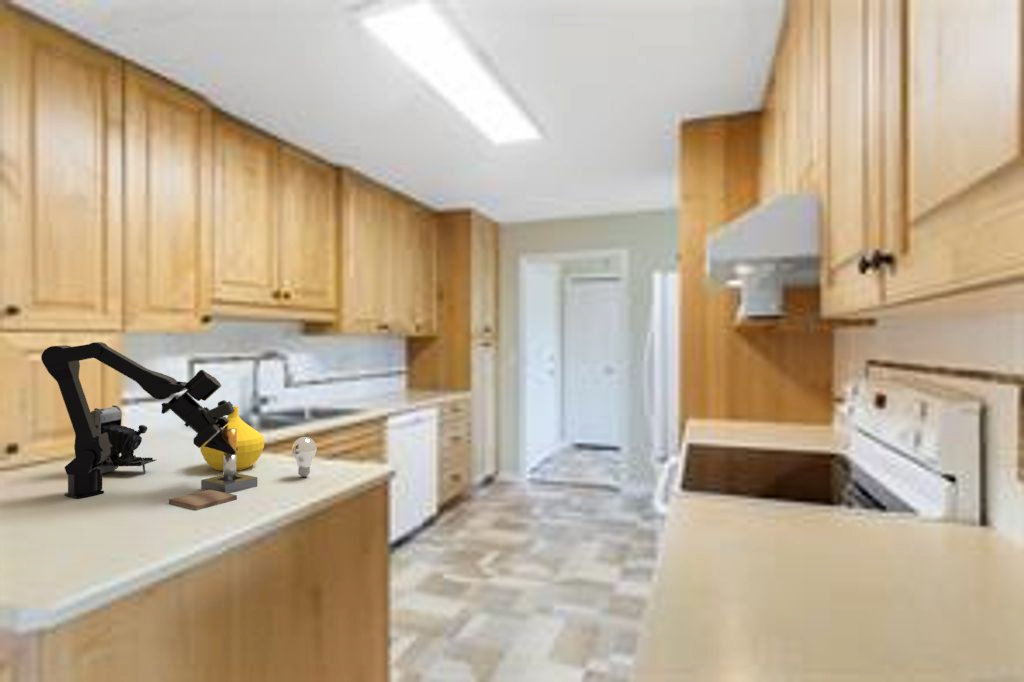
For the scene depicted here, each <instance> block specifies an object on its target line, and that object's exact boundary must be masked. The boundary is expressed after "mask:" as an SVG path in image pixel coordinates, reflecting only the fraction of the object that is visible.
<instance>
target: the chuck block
mask: <svg viewBox="0 0 1024 682" xmlns="http://www.w3.org/2000/svg"><path fill="white" fill-rule="evenodd" d="M200 481H201V483H200V488H201V490H202V491H205V490H214V491H219V492H223V493H228V494H232V493H236V492H240V491H243V490H247V489H251V488H256V487H258V476H254V475H248V474H242V473H238V472H236V480H232V481H223V474H222V475H217V476H212V477H209V478H204V479H200Z"/></svg>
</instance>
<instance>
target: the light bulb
mask: <svg viewBox="0 0 1024 682" xmlns="http://www.w3.org/2000/svg"><path fill="white" fill-rule="evenodd" d="M317 449H318V448H317V443H316V442H315V440H314V439H312V438H311V437H308V436H301V437H298V438H297V439H296V440H294V443H293V444H292V447H291V451H292V452H291V453H292V456H293V457H294V458H295V461H296V464H297V467H298V469H297V471H298V475H299V476H300V477H301V478H307V477H308V476H309V475H310V474H311V465H312V462H313V461H312V460H313V459H314V457H315V455H316V453H317Z"/></svg>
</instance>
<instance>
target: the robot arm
mask: <svg viewBox="0 0 1024 682" xmlns="http://www.w3.org/2000/svg"><path fill="white" fill-rule="evenodd" d="M40 359H41V363H42V365H43V366H44V367H45V369H46V372H48V373H49V375H50V376H51V377H52V378H53V379H54V380H55V381H56V382H57V385H58V388H59V390H60V394H61V396H62V398H63V399H62V400H63V402H64V405H65V408H66V411H67V414H68V417H69V419H70V423H71V425H72V429H73V431H74V437H75V438H74V447H73V448H74V455H75V457H74V458H73V459H72V460H71V461H70V462H69V463H68V464H66V465H65V466H64V470H65V473H66V475H67V492H64V496H66V497H71V498H72V499H73V498H75V499H81V498H86V497H91V496H96V495H100V494H104V493H105V491H104V490H103V474H101V469H98V467H101V465H102V463H103V461H104V460H106V459H107V458H108V456H109V455H110V452H111V450H110V447H112V445H111V444H110V442H109V438H108V433H107V432H106V433H103V434H101V433H100V432H99V431H98V430H97V429H96V427H95V424H94V421H93V418H92V415H91V410H90V406H89V404H88V400H87V398H86V395H85V392H84V389H83V386H82V383H81V380H80V366H81V365H80V361H85V360H89V359H94V360H97V361H99V362H101V363H102V364H104V365H106V366H107V367H109V368H111V369H113V370H114V371H117V372H118V373H120V374H122V375H123V376H125V377H127V378H129V379H131V380H133V381H134V382H136V384H138V385H139V386H140V387H141V388H142V390H143V391H144V392H145V393H147V394H148V395H149V396H150V397H152V398H153V399H155V400H159V401H162V400H166V399H168V398H171V399H170V400H168V402H162V403H161V414H162V415H163V414H166V413H168V412H169V411H172V412H173V413H174V414H175V415H176V416H177V417H178V418H179V419H180V420H182V422H184V424H183V425H184V426H185V427H186V428H188V427H189V428H190V429H191V430H193V432H195V433H196V434H195V436H194V438H193V444H194V446H195V447H197V448H198V449H200V447H201V446H202V445H203V444H204V443H205V442H206V441H207V442H208V443H207V444H206V445H205V446H204V447H209V448H212V449H215V450H219V451H222V452H225V453H228V454H231V455H234V454H235V453H236V451H237V450H238V449H237V450H236V451H235V450H234V449H233V447H232V446H231V445H230V444H229V442H228V441H227V440H226V439H225V437H224V429H228V425H227V426H226V427H225V428H223V427H224V426H225V425H226V424H227V423H228V422H229V420H228V419H227V417H226V416H228V415H230V414H232V413H233V412H235V411H234V409H233V407H234V406H233V403H232V402H231V401H227V400H225V399H223V400H220V401H218V402H217V406H215V407H213V408H211V409H210V408H209V407H207V406H205V407H203V406H202V405H201V404H200V403H198V402H199V401H201V400H202V401H203V402H205V401H207V400H208V399H209V398H210V397H211V396H213V395H214V394H215V393H216V391H218V390H219V389H221V388H222V384H221V383H220V381H219V380H218V379H217V378H216V377H214V376H212V375H211V374H209V372H206V371H205V370H204V369H200V370H198V371H197V373H196V374H195V375H194V376H193V377H192V378H191V379H190V380H188V381H178V380H177V379H175V378H174V377H172V376H169V375H167V374H164V373H162V372H158V371H154V370H152V369H148V368H146V367H145V366H143V365H141V364H140V363H137V362H136V361H134V360H133V359H131V358H129V357H127V356H126V355H124V354H122V353H120V352H118V351H117V350H115V349H114V348H112V347H110V346H108V345H107V343H105V342H101V341H100V342H99V341H98V342H97V341H95V342H91V343H87V344H82V345H76V346H71V345H65V344H63V345H52V346H49V347H46V348H45V349H44V350H43V352H42V353H41V355H40ZM181 392H183V393H182V394H181V395H180V396H179V395H176V394H179V393H181ZM197 401H198V402H197Z"/></svg>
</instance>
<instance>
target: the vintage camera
mask: <svg viewBox="0 0 1024 682" xmlns="http://www.w3.org/2000/svg"><path fill="white" fill-rule="evenodd" d="M122 411H123V410H121V408H120V406H118V405H111V407H104V408H98V407H97V408H94V409H93V410H92V411H91V410H90V412H91V415H92V418H93V421H94V424H95V427H96V429H97V430H98V431H99V432H100V433H101V434H103V433H106V432H107V433H108V438H109V442H110V444H111V445H112V447H110V450H111V452H110V455H109V456H108V458H107V459H106V460H104V461H103V463H102V465H101V467H98V469H101V474H102V475H103V474H106V473H110V472H113V471H114V470H117V469H118V468H119V467H141V466H142V471H143V472H142V473H143V475H146V465H148V464H150V463H152V462H156V461H157V459H154V457H141V456H136V455H135V454H134V452H135V450H137V449H138V448H139V447H140V445H141V443H142V441H143V438H142V436H141V435H143V434H145V433H146V432H147V431H148V427H147V426H146V425H144V424H140V425H138V430H135V429H134V428H132V427H127V426H124V425H122V415H123V414H122V413H123V412H122Z"/></svg>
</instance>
